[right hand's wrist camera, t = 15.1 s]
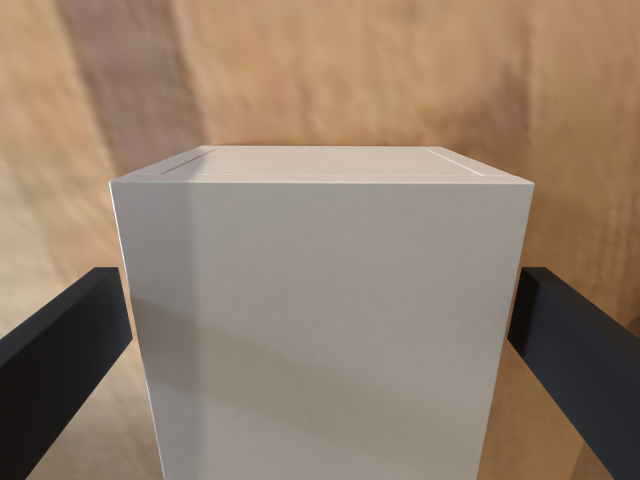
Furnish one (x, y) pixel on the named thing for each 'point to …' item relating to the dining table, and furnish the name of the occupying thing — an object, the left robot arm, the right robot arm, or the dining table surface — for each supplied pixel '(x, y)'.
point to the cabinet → (321, 307)
